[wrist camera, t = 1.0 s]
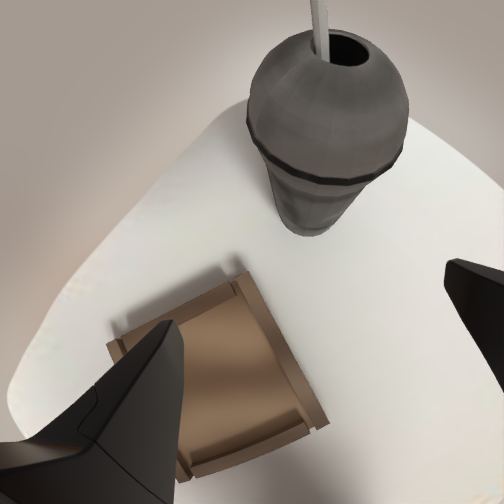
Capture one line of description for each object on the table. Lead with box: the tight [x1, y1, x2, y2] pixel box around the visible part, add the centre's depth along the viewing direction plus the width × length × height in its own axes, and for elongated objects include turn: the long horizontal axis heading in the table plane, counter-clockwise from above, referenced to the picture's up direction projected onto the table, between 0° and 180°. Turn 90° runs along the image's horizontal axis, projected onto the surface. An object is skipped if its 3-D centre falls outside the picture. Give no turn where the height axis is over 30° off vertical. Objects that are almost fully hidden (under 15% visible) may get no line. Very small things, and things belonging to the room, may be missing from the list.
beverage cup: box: [246, 0, 409, 237], centre depth 14 cm, size 7×7×20 cm
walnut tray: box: [106, 271, 330, 483], centre depth 20 cm, size 12×12×2 cm
